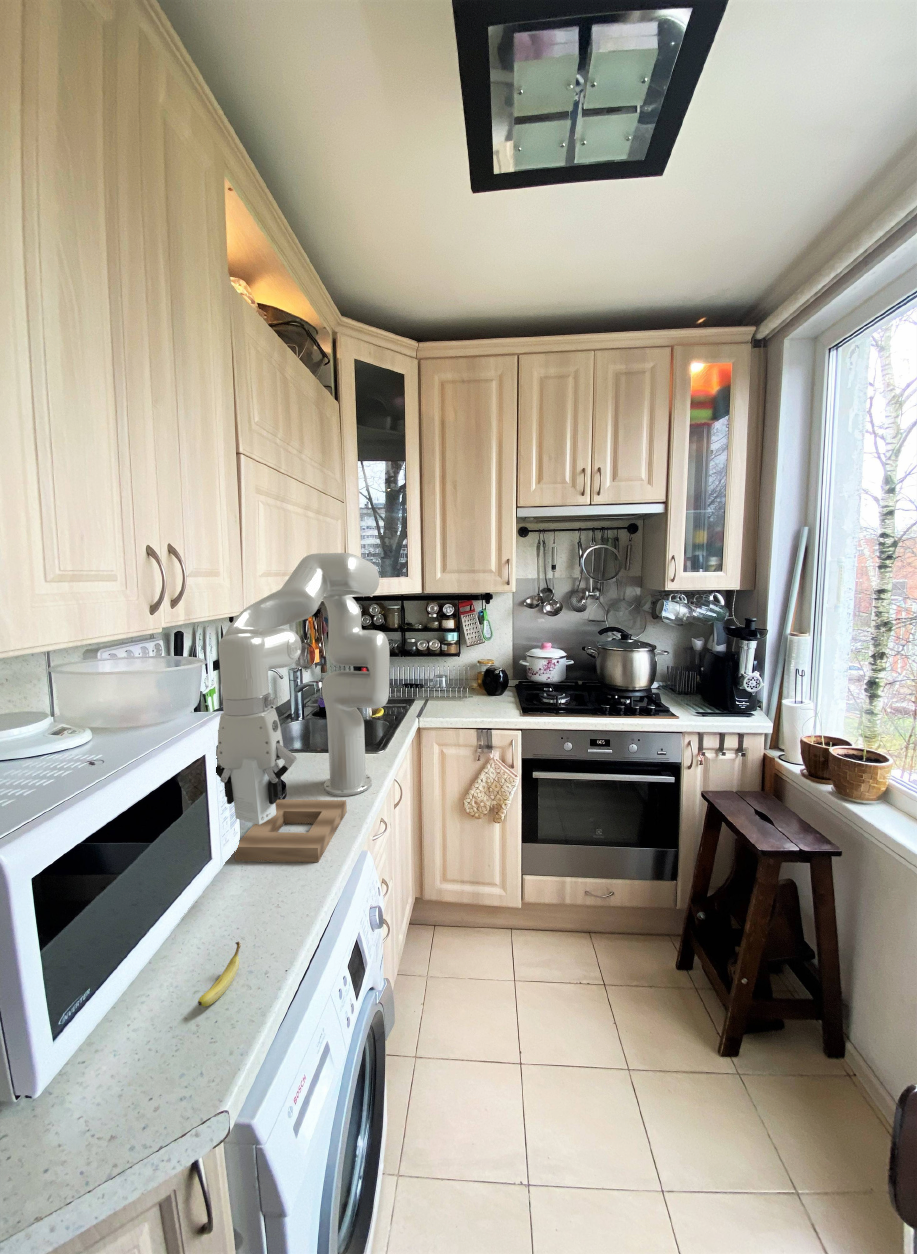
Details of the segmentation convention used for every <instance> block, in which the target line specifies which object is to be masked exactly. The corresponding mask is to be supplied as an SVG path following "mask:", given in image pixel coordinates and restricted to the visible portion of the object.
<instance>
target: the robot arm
mask: <svg viewBox="0 0 917 1254" xmlns="http://www.w3.org/2000/svg"><path fill="white" fill-rule="evenodd" d="M379 586H380V574H379V571H378V569H377V567H376V565H374V564H373V563H372V562H370V561H369V560H366V559H364V558H363V557H361V556H359V555H356V554H353V553H349V552H327V553H326V552H325V553H324V552H323V553H321V552H318V553H317V552H316V553H311V554H307V555H306V556H303V558H302V559H301V560H300V561H299V563H298V564H297V565H296V567H295V569H294V570H293V571H292V573H291V574H290V576H289V577H288V579H286V580H285V582H284V584H283V585H282V587H281V588H280V589H278V590H276V591H275V592H272V593H270V594H268V595H266V596H265V597H262V598H261V599H259V600H257V601H255V602H253V603H252V604H250V605H248V606H247V607H245V608H244V609H243V610H242V611H241V612H239V614H237V616H236V617H235V618H234V620H233V621H232V622H231V624H230V625H229V626H228V628H227V629H226V631H225V633H223V636H222V638H220V640H219V642H218V661H219V670H220V672H219V673H220V683H221V695H222V709H223V712H221V713H220V718H219V722H218V729H217V730H218V731H217V748H216V749H215V750H216V756H217V758H218V763H217V767H216V773H217V774H216V775H217V777H219V778H220V779H219V780H220V782H221V783H222V784H223V787H224V796H225V798H226V804H227V805H231V804H234V799H233V791H232V782H231V772H232V769H241V767H242V763H243V760H244V759H248V758H256V760H257V765H258V769H264V770H265V772H266V774H267V775H268V777H269V779H270V782H269V783H268V795H269V804H274V803H275V802H276V801H277V800H280V798H281V796H282V794H283V790H282V789H283V787H282V777H283V776H284V775H285V774H286V773H287V772H288V771H289V770H290V768H291V767H292V766H293V765H294V764H295V762H296V761H297V759H298V758H297V756H296V755H294V754H293V752H292V751H290V750H288V748H286V747H284V741H283V740H284V739H283V734H282V728H281V724H280V721H279V716H278V713H277V711H276V708H272V707H273V706H277V705H278V698H277V697H272V696H271V695H272V694H271V692H270V682H269V681H270V680H269V671H271V670H276V669H284V668H287V667H290V666H291V665H293V664H294V663H296V661H298V659H299V658H300V655H301V653H302V641H301V639H300V636H299V635H298V634H297V633H296V632H295V631H293V630H291V629H288V628H285V627H284V626H288V625H291V624H295V623H298V622H300V621H303V620H306V619H308V618H310V617H312V616H313V615H314V614H315V613H316V612H317V610H318V609H319V607H320V605H321V603H322V602H323V604H324V605H325V607H326V610H327V615H328V616H327V617H328V620H327V621H328V636H327V637H328V639H327V640H328V641H327V642H328V645H327V646H328V649H327V650H328V658H329V660H330V662H331V663H332V664H334V665H336V666H342V667H343V666H344V667H345V666H346V667H347V666H348V667H367V668H368V671H367V670H366V671H361V670H360V671H359V670H338V671H336V670H335V671H333V672H330V673H329V674H327V675H326V676H325V677H324V679H323V680H322V684H321V694H322V699H323V701H324V702H323V703H324V707H325V711H326V722H327V744H328V746H327V747H328V762H329V763H328V766H329V767H328V768H329V778H327V779H326V781H325V782H324V784H323V789H324V792H325V793H327V794H329V795H332V796H336V797H337V796H338V797H345V796H346V797H349V796H354V795H358V794H361V793H364V792H366V791H367V790H369V789H370V787H371V786H373V785H372V784H373V782H372V781H373V779H372V777H371V776H370V775H368V774H366V771H367V770H366V769H367V768H366V744H365V739H366V738H365V721H364V718H363V716H362V714H361V712H360V711H359V709H379V708H380V709H381V708H383V707H385V705H386V704H387V703H388V699H389V695H390V643H389V640H388V637H387V635H386V634H385V633H384V632H383V631H380V630H375V629H363V628H362V612H361V608H360V607H359V605H358V603H357V601H356V599H354V598H353V597H370V596H372V595H375V593H376V592H377V591H378V588H379ZM217 758H216V759H217ZM281 759H282V760H283V761H284V763H283V764H282V766H281V765H280V764H279V763H278V761H280V760H281Z"/></svg>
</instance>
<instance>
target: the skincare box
mask: <svg viewBox="0 0 917 1254" xmlns="http://www.w3.org/2000/svg"><path fill="white" fill-rule="evenodd" d="M231 782H232V791H233V799H234V802H233V807H234V814H235V819H236V820H241V821H244V822H247V823H252V824H259V825H260V824H262V823H264V822H266V821H267V820H269V819H270V818H272V817H273V816H275V815H276V805H275V803H274V804H269V795H268V783H269V782H270V779H269V777H268V775H267V774H266V772H265V770H264V769H258V765H257V760H256V758H248V759H244V760H243V763H242V767H241V769H232V772H231Z"/></svg>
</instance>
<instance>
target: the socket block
mask: <svg viewBox="0 0 917 1254" xmlns="http://www.w3.org/2000/svg"><path fill="white" fill-rule="evenodd" d="M275 805H276V815H275V816H273V817H272V818H270V819H269V820H267V821H266V822H264V823H262V824H260V825H259V824H255V823H253V825H252V826H251V828H250V829H249V830H248V831H247V832H246V833H245V834H244V835H243V836H242V838H241V839H240V840H239V841H240V843H239V845H238V848H237V850H236V852H235V851H234V860H235V862H282V863H285V862H289V863H290V862H291V863H298V862H299V863H319V862H320V861H321V859H322V857H323V855H324V854H325V851H326V850H327V849H328V846H329V844H330V842H331V840H332V839H333V837H334V836H335V833H336V832H337V830H338V828H339V826H340V825H341V823H342V821H343V819H344V818H345V816H346V814H347V812H348V810H347V800H346V799H278V800H277V801H276V802H275ZM298 823H299V824H298ZM301 823H302V824H304V825H305V824H306V825H307V824H308V823H309V824H308V825H310V823H311V825H312V826H311V827H310V829H309V831H308V832H301V831H299V832H298V831H297V832H292V831H291V832H289V831H288V832H287V831H286V832H285V831H284V832H283V831H280V830H281V828H282V827H283V826H284V824H298V825H300V824H301ZM302 824H301V825H302ZM279 831H280V832H279Z"/></svg>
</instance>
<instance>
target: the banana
mask: <svg viewBox="0 0 917 1254" xmlns="http://www.w3.org/2000/svg"><path fill="white" fill-rule="evenodd" d="M241 944H242V943H241V942H240V941H239V940H238V941H237V942H235V945H236V948H235V949H236V950H235V952H234V954H233V955H232V958H230V960H229V962H228V963H227V965H226V967H225V969H224V970H223V972H222V974H221V975H220V976H219V977H218V979H217V980H216V981H215V982H214V984H212V986H211V987H210V988H209V989H208V990H207V991H205V993H203V994H202V995H201V996H200V997H199V998H198V1000H197V1004H198V1006H200V1007H208V1006H211V1005H212V1004H214V1003H215V1002H216V1001H217V1000H219V998H221V997H222V995H224V993H226V991H227V990H228V988H229V987H230V985H231V984H232V983H233V980H234V979H235V978H236V975H237V973H238V971H239V967H240V958H239V953H240V950H241V947H242V945H241Z"/></svg>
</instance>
